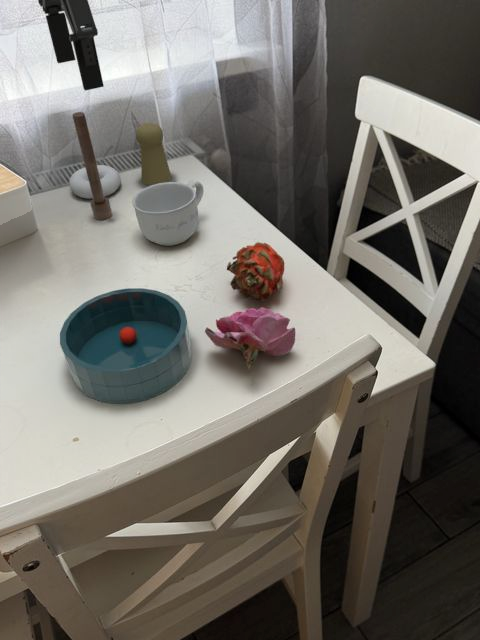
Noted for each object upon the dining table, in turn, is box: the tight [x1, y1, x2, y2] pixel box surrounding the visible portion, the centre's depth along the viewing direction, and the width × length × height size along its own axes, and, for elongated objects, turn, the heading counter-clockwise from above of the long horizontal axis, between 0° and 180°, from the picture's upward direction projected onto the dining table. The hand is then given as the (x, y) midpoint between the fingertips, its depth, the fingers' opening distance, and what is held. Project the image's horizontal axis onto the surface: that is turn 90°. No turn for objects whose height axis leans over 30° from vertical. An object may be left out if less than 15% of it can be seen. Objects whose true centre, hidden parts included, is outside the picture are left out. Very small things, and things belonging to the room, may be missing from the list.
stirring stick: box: [71, 111, 113, 221], centre depth 105 cm, size 3×3×19 cm
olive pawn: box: [135, 122, 173, 187], centre depth 117 cm, size 6×6×11 cm
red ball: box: [119, 327, 137, 344], centre depth 84 cm, size 2×2×2 cm
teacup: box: [131, 179, 204, 247], centre depth 103 cm, size 14×11×8 cm
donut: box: [68, 164, 122, 200], centre depth 117 cm, size 10×4×10 cm
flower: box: [204, 306, 296, 386], centre depth 80 cm, size 11×10×10 cm
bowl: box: [59, 287, 193, 405], centre depth 81 cm, size 17×17×6 cm
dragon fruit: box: [226, 241, 285, 302], centre depth 91 cm, size 8×8×12 cm
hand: (79, 74), depth 88 cm, fingers open, 13 cm apart
